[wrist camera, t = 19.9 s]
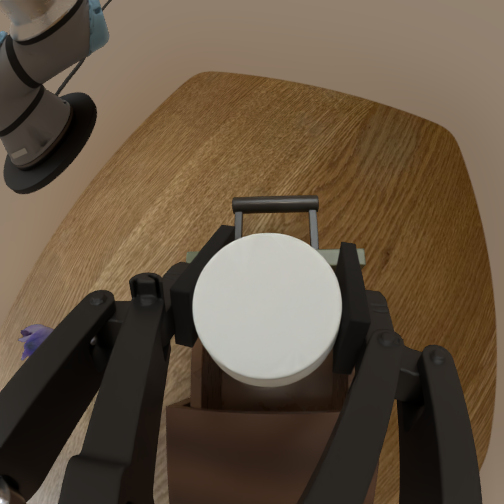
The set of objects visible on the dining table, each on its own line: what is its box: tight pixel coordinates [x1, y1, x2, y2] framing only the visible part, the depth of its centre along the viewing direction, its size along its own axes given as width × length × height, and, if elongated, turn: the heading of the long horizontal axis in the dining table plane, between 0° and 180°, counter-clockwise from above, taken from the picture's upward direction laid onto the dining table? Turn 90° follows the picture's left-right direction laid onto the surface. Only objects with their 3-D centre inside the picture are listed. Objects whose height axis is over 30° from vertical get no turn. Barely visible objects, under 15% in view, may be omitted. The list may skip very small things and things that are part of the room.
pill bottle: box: [193, 233, 342, 387], centre depth 14 cm, size 6×6×10 cm
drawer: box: [186, 195, 366, 412], centre depth 23 cm, size 21×12×8 cm, turn 179°
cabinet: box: [166, 397, 379, 504], centre depth 18 cm, size 17×14×10 cm
